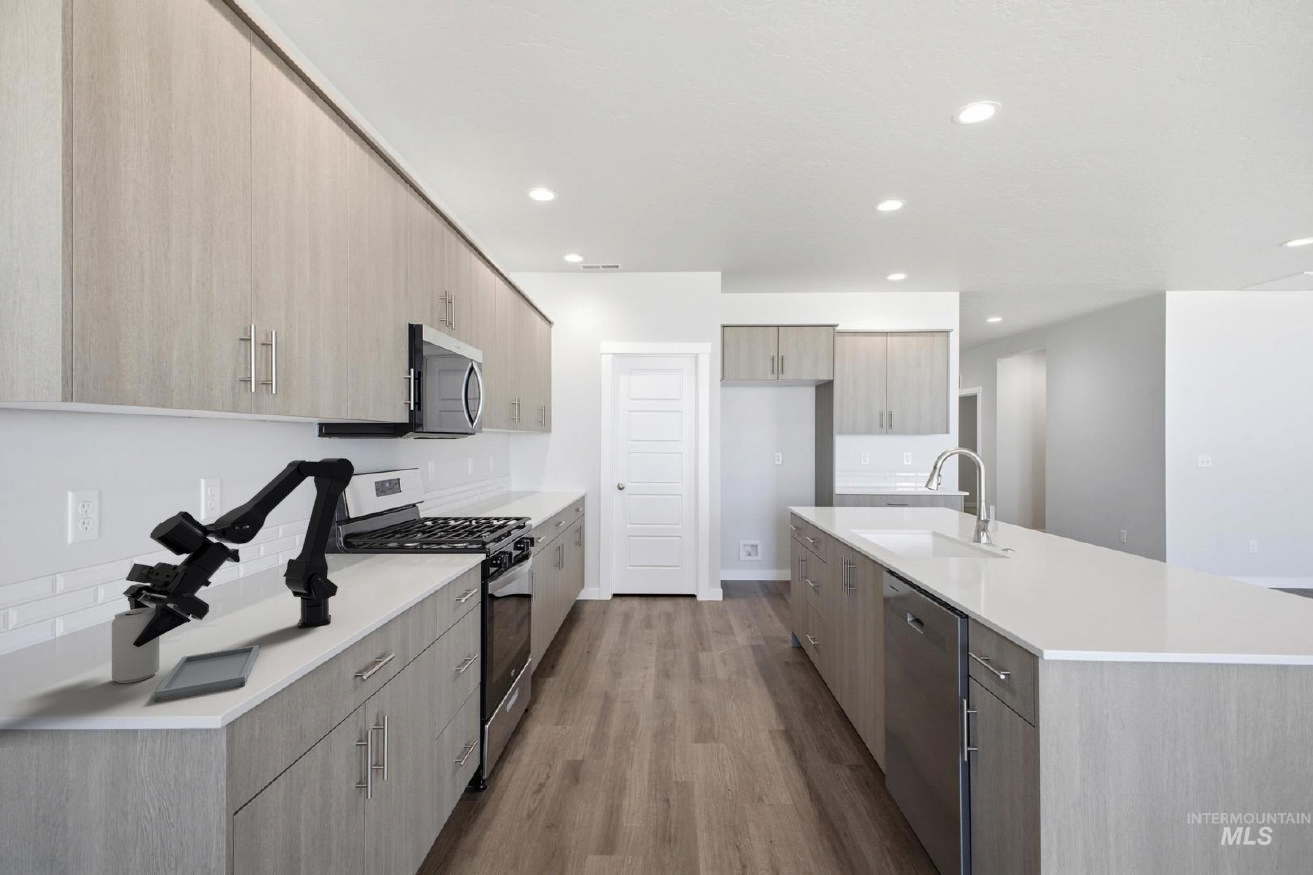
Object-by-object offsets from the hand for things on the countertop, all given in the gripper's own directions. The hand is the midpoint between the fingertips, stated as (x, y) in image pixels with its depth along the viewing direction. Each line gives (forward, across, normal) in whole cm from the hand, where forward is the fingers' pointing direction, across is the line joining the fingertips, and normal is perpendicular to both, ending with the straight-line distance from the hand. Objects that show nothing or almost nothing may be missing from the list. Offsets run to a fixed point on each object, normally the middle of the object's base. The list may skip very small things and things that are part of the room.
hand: (126, 643), depth 101 cm
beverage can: (+4, 0, +6) cm, 7 cm away
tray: (-1, +12, +10) cm, 16 cm away
